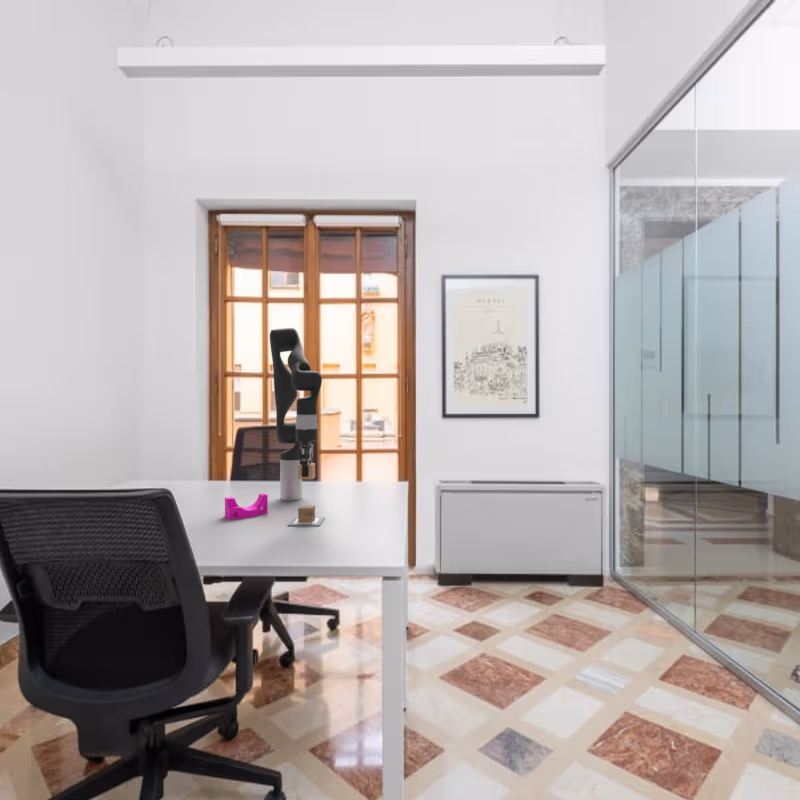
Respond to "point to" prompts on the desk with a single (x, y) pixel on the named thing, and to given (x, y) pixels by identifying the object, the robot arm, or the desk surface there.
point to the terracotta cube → (310, 471)
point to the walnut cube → (306, 513)
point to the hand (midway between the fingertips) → (306, 475)
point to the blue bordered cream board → (315, 523)
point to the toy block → (245, 508)
